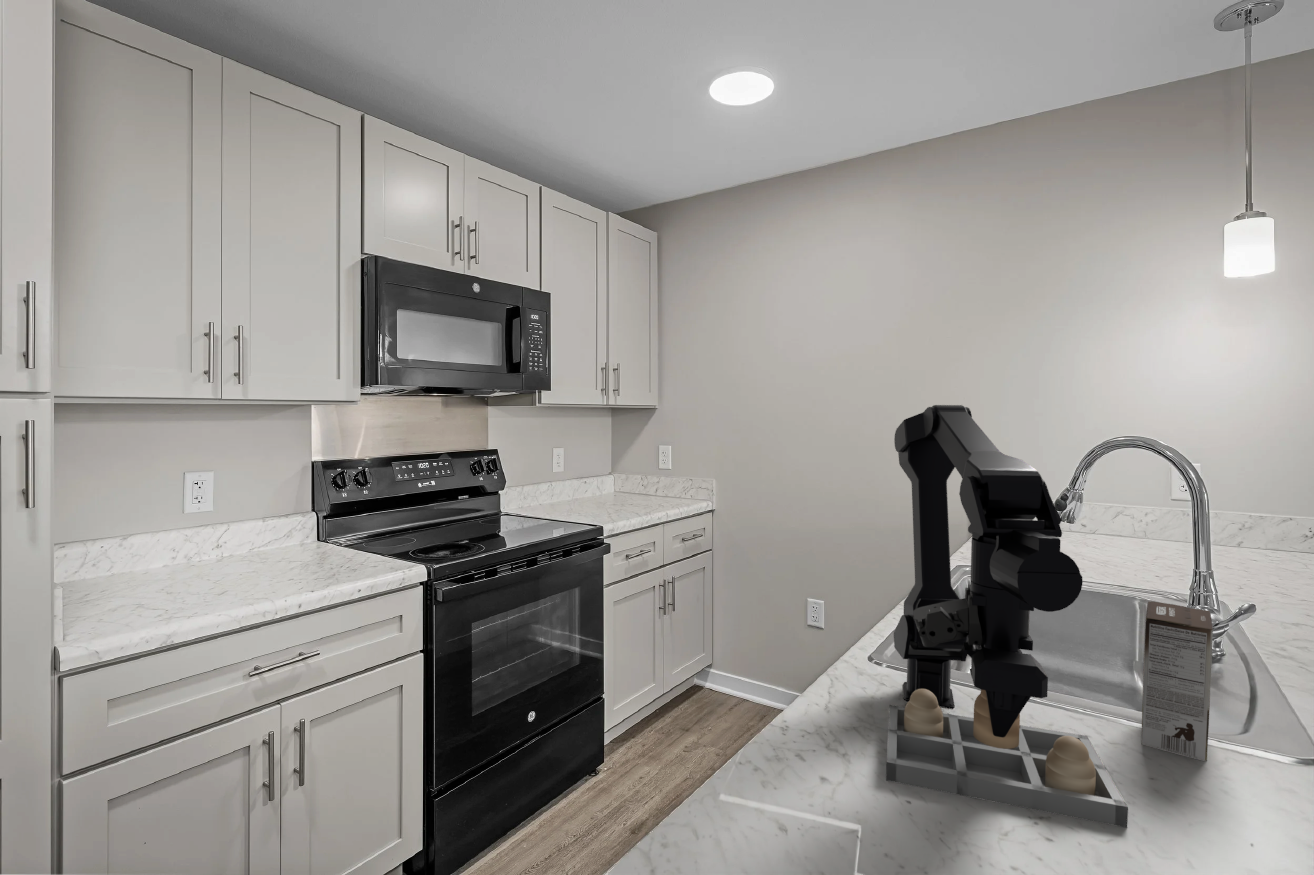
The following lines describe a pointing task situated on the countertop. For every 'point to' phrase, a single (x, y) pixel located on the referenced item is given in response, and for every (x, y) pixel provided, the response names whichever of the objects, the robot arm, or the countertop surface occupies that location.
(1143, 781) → the countertop surface
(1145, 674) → the coffee box
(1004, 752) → the egg carton
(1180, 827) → the countertop surface
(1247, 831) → the countertop surface
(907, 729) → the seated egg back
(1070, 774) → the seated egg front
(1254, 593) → the countertop surface
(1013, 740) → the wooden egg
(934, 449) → the robot arm
